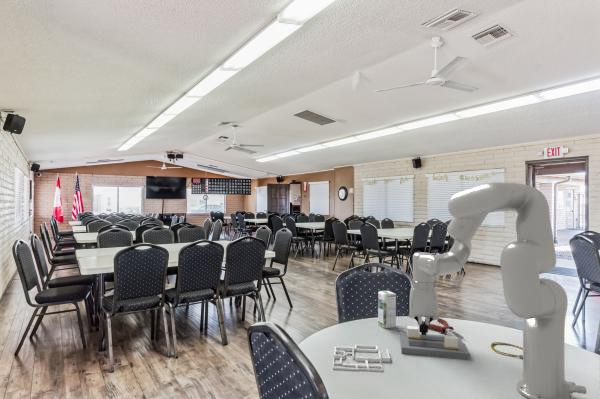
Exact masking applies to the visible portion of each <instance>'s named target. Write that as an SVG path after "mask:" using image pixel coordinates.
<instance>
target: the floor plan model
mask: <svg viewBox="0 0 600 399" xmlns="http://www.w3.org/2000/svg"><path fill="white" fill-rule="evenodd" d="M355 352H358V353H359V352H360V353H359V356H355V354H354V353H355ZM361 352H362V353H378V357H367V356H365V357H364V356H362V354H361ZM345 353H346V354H345ZM333 354H334V355H333V360H332V361H333V362H332V370H335V371H336V370H340V371H353V370H355V371H357V372H358V371H362V372H363V370H364V372H365V371H367V372H379V373H381V372H383V370H384V369H383V365H382V363H391V357H390V353H389V350H388V348H386V355H387V357H386V356H385V357H384V356H382V355H381V350H380V349H379V347H378V345H371V344H370V345H367V344H354V346H352V347H351V346H334V352H333ZM346 355H347V356H352V361H353V360H355V362H365V364H359V363H350V362H346V363H342V361H343V360H345V359H346V357H345V356H346ZM337 359H338V360H339V362H335V360H337ZM369 362H370V363H372V364H369ZM374 363H376V364H374ZM377 363H379V364H377ZM341 366H342V367H341ZM355 371H354V372H355Z"/></svg>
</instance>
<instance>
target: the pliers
mask: <svg viewBox="0 0 600 399" xmlns="http://www.w3.org/2000/svg"><path fill="white" fill-rule="evenodd" d="M422 321H423V324H424V321H425V320H422ZM436 321H437V323H438V322H439V323H438V324H440V323H441V325H443V326H441V325H437V324H433V323H431V322H430V323H429V325H428V330H431V331H434V332H438V333H440V335H443V334H446V335H448V336H457V337H460V338H461V339H465V337H464V336H462V335H461V334H460V333H458V332H457V331H455V330H454V327H453V326H450V325H449V323H448V321H446V320H445V319H443V318H440V317H439V319H438V320H436ZM417 325H419V323H418V322H417Z"/></svg>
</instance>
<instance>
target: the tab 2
mask: <svg viewBox="0 0 600 399" xmlns="http://www.w3.org/2000/svg"><path fill="white" fill-rule="evenodd" d="M444 344H445V346H446V347H453V348H458V338H457V337H456V336H449V335H447V334H446V335H445V334H444Z"/></svg>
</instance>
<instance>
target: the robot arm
mask: <svg viewBox="0 0 600 399" xmlns="http://www.w3.org/2000/svg"><path fill="white" fill-rule="evenodd" d="M447 208H448V212H449V214H450V215H451V216H452V219H451V220H450V222H449V223H448V225H447V228H446V232H447V234H448V235H449V236H450V237H451V238H452V239H453V244H452V246H451V247H450V250H449V251H448V252H447V253H439V254H432V253H430V252H421V251H419V252H418V251H417V252H414V254H413V255H412V287H411V288H410V290H409V299H408V300H409V301H408V302H409V304H408V308H409V309H408V310H409V313H408V317H409V318H411V319H413V320H415V321H416V322H417V324H418V323H419V326H418V328H419V333H420V334H422V335H425V336H426V334H429V329H428V325H429V323H430V324H431V322H432V321H437V320H438V319H439V318H440V317H439V304H438V296H437V290H436V287H437V288H438V287H439V283H438V282H435V281H434V280H435V277H442V276H446V275H454V274H457V273H458V272H460V271H461V269H463V267H464V266H465V265H466V263H467V261H468V259H469V257H470V256H471V252H472V240H473V237H474V236H475V235H476V233H477V232H478V230H479V229H480V227H481V226H482V225H483V223H484V221H485V220H486V217H487V216H488V214H490V213H495V212H515V213H517V216H516V220H515V231H516V240H515V241H512V242H510V243H508V244H507V245H506V246H505V247H504V248H503V250H502V251H501V254H500V262H499V264H500V265H499V266H500V272H501V280H502V286H503V287H502V288H503V294H504V296H503V297H504V300H505V302H506V303H505V304H506V305H507V307H508V309H509V310H510V312H511V313H513V315H515V316H516V317H518V318H520V319H523V322H522V348H523V350H522V355H523V359H522V369H523V370H522V375H523V376H522V379H519V381H517V382H516V389H517V391H518V392H519V393H520V394H521V395H522V396H524V397H526V398H527V399H573V396H572V394H573V393H577V394H581V395H582V394H583V395H585V394H587V388H586V386H584V385H578V384H576V382H575V381H566V379H565V375H566V374H565V372H566V371H565V370H566V369H565V327H566V326H565V325H566V316H567V311H568V301H569V300H568V295H567V292H566V290H565V289H564V288H563V286H562V285H561V284H560V283H558V282H557V281H555V280H552V279H550V278H545V277H544V278H541V277H540V275H542V274H546V273H549V272H551V271H553V270H554V269H555V267H556V265H557V254H556V249H555V241H554V240H555V239H554V235H553V229H552V224H551V222H552V221H551V215H550V206H549V202H548V200H547V197H546V196H545V195H544V194H543V193H542V191H540V190H539V189H537V187H534V186H532V185H528V184H525V183H520V182H519V183H517V182H501V181H500V182H499V181H498V182H496V181H495V182H487V183H484V184H481V185H478V186H475V187H471V188H468V189H465V190H462V191H459V192H457V193H455V194H453V195H452V196H451V198H450V199H449V201H448V205H447ZM423 317H425V318H424V320H423V319H422V318H423ZM423 321H424V324H423Z"/></svg>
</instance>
